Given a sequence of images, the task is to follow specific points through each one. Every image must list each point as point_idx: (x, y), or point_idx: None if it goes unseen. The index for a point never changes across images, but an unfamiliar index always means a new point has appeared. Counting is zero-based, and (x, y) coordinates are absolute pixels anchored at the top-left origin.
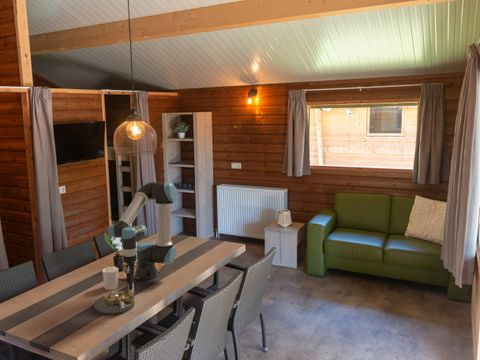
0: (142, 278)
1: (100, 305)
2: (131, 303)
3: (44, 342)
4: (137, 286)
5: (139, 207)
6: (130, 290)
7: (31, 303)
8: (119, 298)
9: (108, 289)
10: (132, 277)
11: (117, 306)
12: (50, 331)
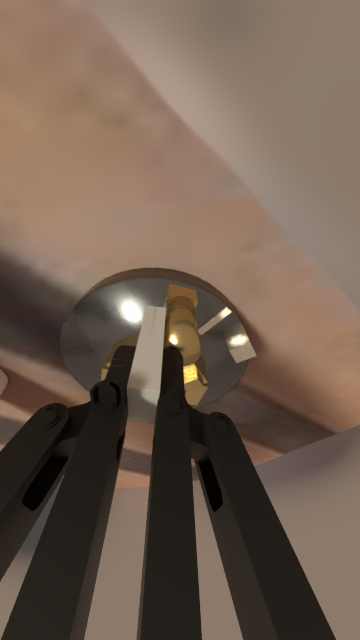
0: None
1: None
2: (199, 292)
3: (310, 441)
4: None
5: None
6: (197, 354)
7: (124, 472)
8: (191, 368)
9: (6, 380)
10: (153, 514)
11: (215, 351)
12: (265, 441)
